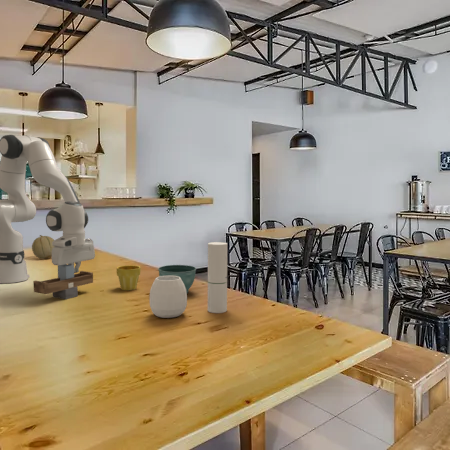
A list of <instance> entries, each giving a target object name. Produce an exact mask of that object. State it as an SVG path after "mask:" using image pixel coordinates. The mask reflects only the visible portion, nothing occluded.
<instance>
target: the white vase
mask: <svg viewBox="0 0 450 450" xmlns="http://www.w3.org/2000/svg"><path fill="white" fill-rule="evenodd" d="M187 294H188V293H187V292H186V288H185V285H184V283H183V281H182V280H181V278H180V277H178V276H170V275H168V276H160V277H159V276H157V277H155V279H154V280H153V283H152V284H151V287H150V289H149V307H150V309H151V312H152V314H153V315H155V316H156V317H158V318H163V319H164V318H167V319H169V318H170V319H171V318H176V317H180V316H181V315H182V314H183V313H184V312H185V310H186V308H187V305H188V295H187Z"/></svg>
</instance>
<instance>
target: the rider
mask: <svg viewBox="0 0 450 450" xmlns="http://www.w3.org/2000/svg"><path fill="white" fill-rule="evenodd" d="M74 268H75V264H74V265H68V264H65V265H59V266H58V265H57V278H60V281H61V280H66V279H70V278H73V277H74V274H75V273H74Z"/></svg>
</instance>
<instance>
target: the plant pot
mask: <svg viewBox="0 0 450 450" xmlns="http://www.w3.org/2000/svg"><path fill="white" fill-rule="evenodd" d="M116 276H117V277H118V281H119V285H120V290H122V291H134V290H137V287H138V281H139V276H141V266H140V265H134V264H132V265H130V264H128V265H119V266H117V267H116Z"/></svg>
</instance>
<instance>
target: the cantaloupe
mask: <svg viewBox="0 0 450 450" xmlns="http://www.w3.org/2000/svg"><path fill="white" fill-rule="evenodd" d="M54 240H55V239H54V238H53V237H51V236H48V235H42V234H39V236H38V237H36V238H35V239H34V240H33V242H32V243H31V250H32V253H33V255H34V256H35V257H36V258H38V259H41V260H48V259H50V258H52V249H53V247H55V246H53V245H52V242H53V241H54Z"/></svg>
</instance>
